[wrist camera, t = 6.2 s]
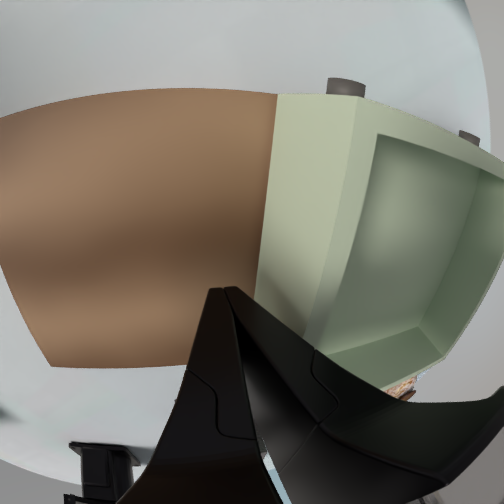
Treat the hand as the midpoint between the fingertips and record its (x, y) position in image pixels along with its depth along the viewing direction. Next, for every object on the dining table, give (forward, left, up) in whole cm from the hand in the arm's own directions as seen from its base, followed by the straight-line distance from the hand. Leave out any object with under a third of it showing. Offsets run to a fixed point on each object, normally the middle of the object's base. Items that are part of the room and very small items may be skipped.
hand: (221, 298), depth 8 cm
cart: (0, -8, -2) cm, 8 cm away
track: (0, -3, -3) cm, 4 cm away
